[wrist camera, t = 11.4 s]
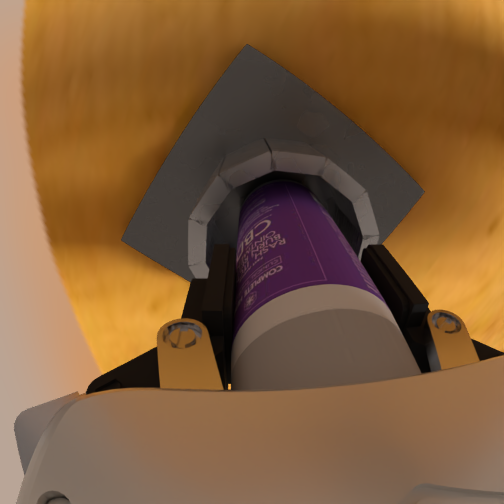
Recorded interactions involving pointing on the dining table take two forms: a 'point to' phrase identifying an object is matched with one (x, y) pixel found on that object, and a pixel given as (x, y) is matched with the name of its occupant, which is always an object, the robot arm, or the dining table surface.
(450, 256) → the dining table surface
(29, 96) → the dining table surface
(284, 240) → the container
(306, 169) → the duct collar
